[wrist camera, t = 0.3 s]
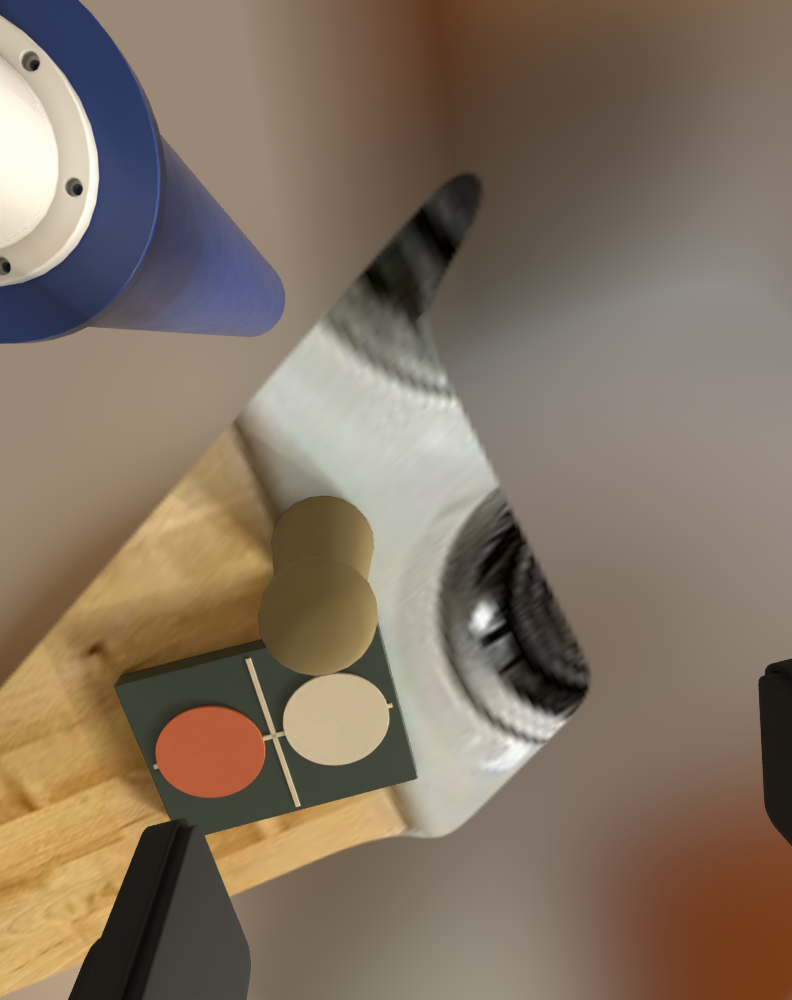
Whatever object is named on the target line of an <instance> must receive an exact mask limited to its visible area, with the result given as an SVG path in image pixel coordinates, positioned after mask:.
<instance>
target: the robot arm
mask: <svg viewBox="0 0 792 1000" xmlns="http://www.w3.org/2000/svg"><path fill="white" fill-rule="evenodd" d="M37 64H40V65H39V67H38V69H37V70H35V71H34V67H35V65H37ZM98 184H99V168H98V152H97V148H96V144H95V140H94V136H93V131H92V127H91V124H90V122H89V119H88V117H87V115H86V112H85V110H84V108H83V105H82V103H81V101H80V98H79V97H78V95H77V94H76V92H75V90H74V89H73V87H72V86H71V84H70V82H69V81H68V79H67V78H66V76H65V74H64V73H63V72H62V71H61V70H60V69H59V67H58V66H57V65H56V64H55V63H54V62H53V60H52V59H51V58H50V57H49V56H48V55H47V54H46V52H45V51H44V50H43V49H42V48H40V47H39V46H38V45H37V44H36V43H35V42H34V41H33V40H32V39H31V38H30V37H29V36H28V35H27V34H26V33H25V32H23V31H22V30H20V29H19V28H18V27H16V26H15V25H13V24H12V23H11V22H9V21H8V20H6V19H5V18H4V17H2V16H1V15H0V287H1V286H7V285H12V284H18V283H23V282H26V281H28V280H31V279H33V278H36V277H38V276H41V275H43V274H45V273H46V272H48V271H49V270H51V269H52V268H54V267H55V266H57V265H58V264H59V263H61V262H62V261H63V260H64V259H65V258H66V257H67V256H68V255H69V254H70V253H71V252H72V250H73V249H74V248H75V247H76V246H77V245H78V243H79V241H80V240H81V238H82V236H83V235H84V233H85V231H86V229H87V228H88V226H89V223H90V220H91V217H92V214H93V211H94V208H95V205H96V200H97V192H98ZM80 186H82V187H83V191H82V193H81V195H79V196H78V194H77V188H78V187H80ZM9 263H10V266H11V270H10V272H8V271H7V265H8V264H9ZM758 686H759V706H760V724H761V744H762V765H763V785H764V802H765V808H766V811H767V814H768V816H769V818H770V820H771V822H772V823H773V825H774V826H775V828H776V829H777V830H778V831H779V832H780V833H781V835H782V836H783V837H784V838H785V839H786V840H787V841H788V842H789V843H790V844H791V846H792V659H788V660H784V661H780V662H777V663H773V664H770V665H768V666H767V668H766V669H765V676H762V677H760V679H759V684H758ZM250 969H251V960H250V951H249V946H248V943H247V940H246V938H245V935H244V933H243V930H242V928H241V925H240V923H239V920H238V918H237V916H236V913H235V911H234V908H233V906H232V903H231V901H230V898H229V896H228V893H227V891H226V888H225V886H224V883H223V881H222V878H221V876H220V873H219V871H218V868H217V866H216V863H215V861H214V858H213V856H212V853H211V851H210V848H209V846H208V843H207V841H206V839H205V836H204V834H203V831H202V829H201V827H200V826H199V825H192V826H191V825H190V824H189V822H188V820H186V819H185V818H180V819H176V820H172V821H168V822H165V823H161V824H157V825H153V826H149V827H147V828H146V829H145V830H144V832H143V834H142V835H141V838H140V840H139V843H138V845H137V848H136V850H135V853H134V855H133V858H132V860H131V863H130V865H129V868H128V870H127V873H126V876H125V878H124V881H123V883H122V886H121V888H120V891H119V893H118V896H117V898H116V901H115V903H114V906H113V908H112V911H111V913H110V916H109V918H108V921H107V923H106V926H105V929H104V931H103V934H102V936H101V938H100V939H98V940H97V941H96V942H95V943H94V944H93V945H92V947H91V948H90V950H89V952H88V954H87V956H86V958H85V960H84V962H83V965H82V967H81V970H80V972H79V975H78V977H77V979H76V982H75V984H74V987H73V989H72V992H71V994H70V996H69V999H68V1000H247V993H248V986H249V978H250Z"/></svg>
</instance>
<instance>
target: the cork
mask: <svg viewBox="0 0 792 1000" xmlns="http://www.w3.org/2000/svg"><path fill="white" fill-rule="evenodd" d="M373 548H374V546H373V533H372V530H371V528H370V526H369V524H368V521H367V519H366V518H365V517H364V516H363V514H362V513H361V512H360V511H359V510H358V509H357V508H356V507H355V506H353V505H351V504H349V503H348V502H346V501H344V500H342V499H338V498H334V497H329V496H319V497H310V498H307V499H305V500H302V501H300V502H297V503H295V504H294V505H293V506H291V507H290V508H289V509H288V510H287V511H286V512H284V513H283V514H282V516H281V518H280V519H279V521H278V523H277V524H276V526H275V528H274V533H273V538H272V555H273V569H274V578H272V580H271V582H270V583H269V585H268V587H267V588H266V590H265V591H264V593H263V596H262V599H261V604H260V608H259V613H258V620H259V627H260V634H261V638H262V640H263V642H264V644H265V646H266V647H267V649H268V651H269V653H270V654H271V655H272V656H273V657H274V658H275V659H276V660H277V661H278V662H279V663H280V664H282V665H283V666H285V667H287V668H289V669H291V670H294V671H296V672H298V673H302V674H308V675H314V676H317V675H326V674H332V673H335V672H337V671H340V670H342V669H345V668H347V667H349V666H350V665H352V664H353V663H354V662H355V661H357V660H358V659H359V658H360V657H362V656H363V654H364V653H365V651H366V650H367V648H368V647H369V645H370V644H371V642H372V640H373V637H374V634H375V630H376V626H377V622H378V614H377V603H376V598H375V596H374V593H373V591H372V589H371V587H370V585H369V583H368V581H367V580H368V574H369V569H370V564H371V559H372V554H373Z"/></svg>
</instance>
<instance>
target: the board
mask: <svg viewBox="0 0 792 1000" xmlns="http://www.w3.org/2000/svg"><path fill="white" fill-rule="evenodd" d="M114 688H115V690H116V692H117V695H118V697H119V699H120V702H121V704H122V706H123V709H124V711H125V713H126V716H127V718H128V721H129V723H130V725H131V728H132V730H133V732H134V735H135V737H136V739H137V742H138V744H139V747H140V749H141V751H142V754H143V756H144V758H145V761H146V763H147V765H148V768H149V770H150V772H151V775H152V777H153V780H154V782H155V784H156V787H157V789H158V791H159V794H160V796H161V798H162V801H163V803H164V806H165V808H166V810H167V813H168V815H169V817H170V820H171V821H172V820H176V819H180V818H185V819H186V820H188V822H189V824H190V825H191V826H192V825H199V826H200V827H201V829H202V831H203V834H204V835H207V834H211V833H215V832H219V831H222V830H226V829H230V828H234V827H237V826H241V825H245V824H249V823H252V822H256V821H260V820H264V819H267V818H271V817H275V816H279V815H283V814H286V813H290V812H294V811H298V810H301V809H305V808H309V807H313V806H316V805H320V804H324V803H328V802H332V801H335V800H339V799H343V798H347V797H350V796H354V795H358V794H362V793H365V792H369V791H373V790H377V789H380V788H384V787H388V786H392V785H396V784H399V783H403V782H407V781H411V780H414V779H418V775H417V770H416V765H415V761H414V757H413V753H412V750H411V746H410V742H409V738H408V734H407V730H406V727H405V723H404V719H403V715H402V711H401V708H400V704H399V700H398V696H397V692H396V688H395V685H394V681H393V677H392V673H391V669H390V666H389V662H388V658H387V654H386V650H385V646H384V643H383V639H382V635H381V631H380V627H379V624H378V622H377V626H376V630H375V634H374V637H373V640H372V642H371V644H370V645H369V647H368V648H367V650H366V651H365V653H364V654H363V656H362V657H360V658H359V659H358V660H357V661H355V662H354V663H353V664H352V665H350V666H349V667H347V668H345V669H342V670H340V671H337V672H335V673H332V674H326V675H317V676H314V675H308V674H302V673H298V672H296V671H294V670H291V669H289V668H287V667H285V666H283V665H282V664H280V663H279V662H278V661H277V660H276V659H275V658H274V657H273V656H272V655H271V654H270V653H269V651H268V649H267V647H266V646H265V644H264V642H263V640H258V641H254V642H250V643H247V644H243V645H239V646H235V647H231V648H227V649H223V650H219V651H215V652H211V653H207V654H203V655H199V656H195V657H191V658H187V659H184V660H180V661H176V662H172V663H168V664H164V665H160V666H156V667H152V668H148V669H144V670H140V671H136V672H132V673H128V674H124V675H121V676H120V678H119V679H118V681H117V682H116V684H115V686H114Z"/></svg>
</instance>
